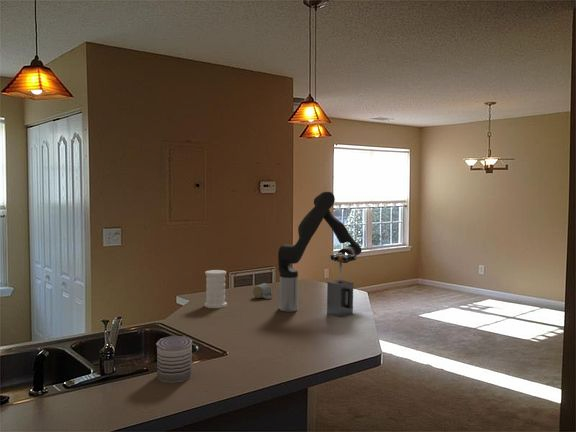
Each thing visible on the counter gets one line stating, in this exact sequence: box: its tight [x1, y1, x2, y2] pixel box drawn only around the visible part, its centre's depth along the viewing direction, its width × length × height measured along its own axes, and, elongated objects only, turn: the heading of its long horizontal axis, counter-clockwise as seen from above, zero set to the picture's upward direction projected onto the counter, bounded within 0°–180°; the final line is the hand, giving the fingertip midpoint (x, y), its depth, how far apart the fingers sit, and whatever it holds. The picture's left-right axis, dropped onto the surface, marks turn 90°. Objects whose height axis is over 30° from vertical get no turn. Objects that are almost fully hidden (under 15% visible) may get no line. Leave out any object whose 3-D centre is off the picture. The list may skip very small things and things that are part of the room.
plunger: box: [336, 255, 345, 283], centre depth 252 cm, size 7×7×20 cm
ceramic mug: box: [252, 282, 273, 300], centre depth 287 cm, size 11×8×8 cm
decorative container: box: [204, 269, 228, 309], centre depth 268 cm, size 12×12×18 cm
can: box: [155, 335, 194, 384], centre depth 168 cm, size 11×11×12 cm
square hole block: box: [326, 279, 354, 318], centre depth 251 cm, size 12×9×16 cm
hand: (339, 259), depth 249 cm, fingers closed on plunger, 4 cm apart
